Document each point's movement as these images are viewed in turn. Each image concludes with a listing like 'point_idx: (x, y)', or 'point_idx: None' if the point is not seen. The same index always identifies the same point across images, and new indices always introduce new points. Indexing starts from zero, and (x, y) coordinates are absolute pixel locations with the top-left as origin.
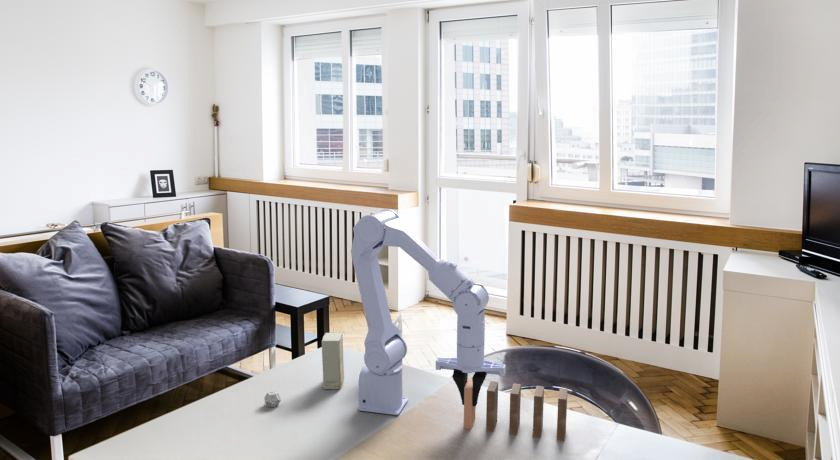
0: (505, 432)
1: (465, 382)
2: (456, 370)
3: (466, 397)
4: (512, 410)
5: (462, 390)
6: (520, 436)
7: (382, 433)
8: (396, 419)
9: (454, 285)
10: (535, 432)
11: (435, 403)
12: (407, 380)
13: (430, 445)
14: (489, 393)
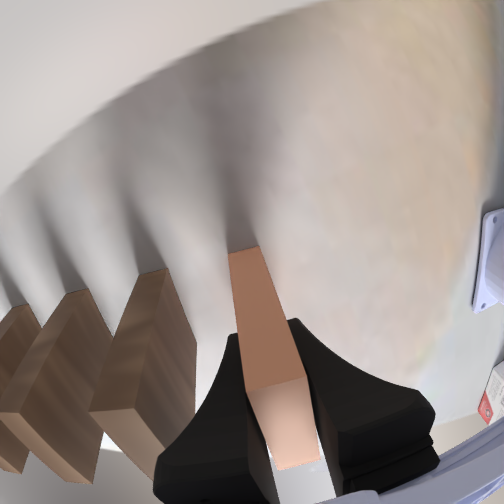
0: (104, 293)
1: (321, 426)
2: (417, 467)
3: (274, 334)
4: (43, 350)
5: (318, 366)
6: (53, 290)
7: (483, 90)
8: (480, 192)
9: None
10: (14, 314)
11: (403, 342)
12: (471, 383)
13: (323, 53)
14: (121, 396)
